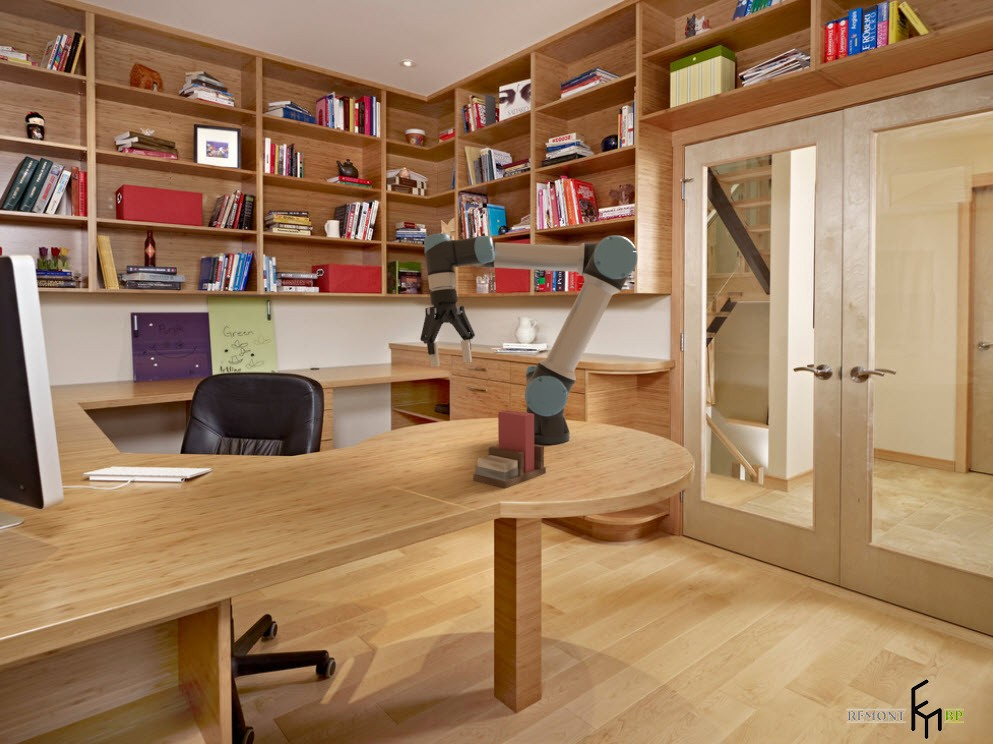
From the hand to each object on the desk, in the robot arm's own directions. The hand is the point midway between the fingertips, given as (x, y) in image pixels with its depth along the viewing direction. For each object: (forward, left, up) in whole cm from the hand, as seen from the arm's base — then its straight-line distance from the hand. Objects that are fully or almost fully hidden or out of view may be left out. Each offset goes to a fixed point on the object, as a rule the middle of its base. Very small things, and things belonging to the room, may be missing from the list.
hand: (452, 364), depth 176 cm
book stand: (-6, +31, -25) cm, 40 cm away
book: (-8, +29, -24) cm, 38 cm away
